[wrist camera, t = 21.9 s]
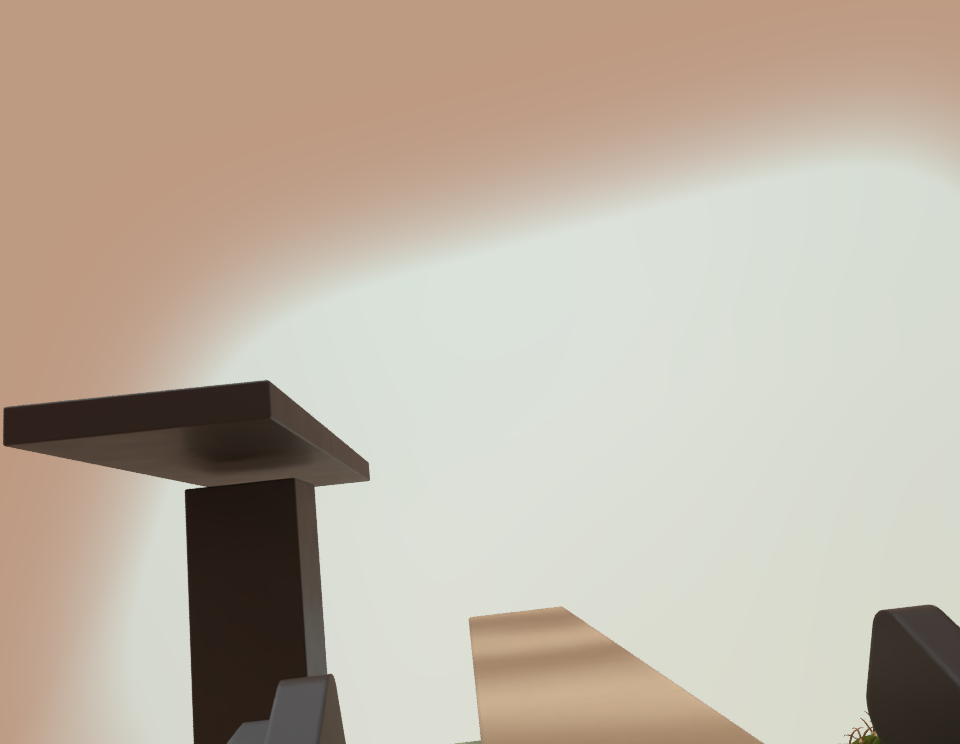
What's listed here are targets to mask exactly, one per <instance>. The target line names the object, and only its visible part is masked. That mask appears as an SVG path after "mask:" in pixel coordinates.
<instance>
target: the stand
mask: <svg viewBox="0 0 960 744" xmlns="http://www.w3.org/2000/svg"><path fill="white" fill-rule="evenodd" d="M3 421H4V422H3V444H4V446H7V447H12V448H17V449H22V450H27V451H32V452H37V453H42V454H47V455H52V456H57V457H62V458H67V459H72V460H77V461H82V462H87V463H92V464H97V465H102V466H106V467H111V468H117V469H122V470H126V471H131V472H136V473H141V474H147V475H151V476H156V477H161V478H166V479H171V480H176V481H181V482H186V483H191V484H196V485H201V486H206V487H204V488H195V489H187V490H185V508H186V535H187V564H188V593H189V621H190V647H191V676H192V705H193V731H194V744H227V743H228V741H229V740H230V739H231V738H232V736H233V735H234V734H235V732H236V731H237V730H238V729H239V727H240V726H241V725H242V723H246V722H255V721H263V720H270V716H271V712H272V708H273V703H274V699H275V695H276V691H277V687H278V684H279V682H280V681H281V680H284V679H293V678H301V677H310V676H318V675H326V674H327V667H326V666H327V665H326V651H325V636H324V622H323V607H322V592H321V579H320V578H321V577H320V563H319V549H318V534H317V519H316V505H315V490H314V487H317V486H326V485H335V484H344V483H354V482H363V481H369V480H370V475H369V463H368V462H367V461H366V460H364V459H363V458H362V457H361V456H360V455H359V454H357V453H356V452H355V451H354V450H353V449H351V448H350V447H349V446H348V445H346V444H345V443H344V442H343V441H342V440H340V439H339V438H338V437H336V436H335V435H334V434H333V433H332V432H331V431H329V430H328V429H327V428H326V427H324V426H323V425H322V424H321V423H320V422H318V421H317V420H316V419H315V418H314V417H312V416H311V415H310V414H309V413H308V412H306V411H305V410H304V409H303V408H301V407H300V406H299V405H298V404H296V403H295V402H294V401H293V400H292V399H291V398H289V397H288V396H287V395H286V394H284V393H283V392H282V391H281V390H280V389H278V388H277V387H276V386H275V385H273V384H272V383H271V382H270V381H268V380H264V381H254V382H244V383H234V384H226V385H215V386H205V387H196V388H186V389H176V390H166V391H157V392H147V393H137V394H128V395H118V396H108V397H98V398H89V399H79V400H69V401H59V402H50V403H40V404H30V405H20V406H11V407H5V408H4V419H3Z"/></svg>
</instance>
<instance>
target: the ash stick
mask: <svg viewBox="0 0 960 744" xmlns="http://www.w3.org/2000/svg"><path fill="white" fill-rule="evenodd" d="M469 626H470V636H471V646H472V656H473V665H474V676H475V685H476V695H477V705H478V715H479V724H480V735H481V744H764V743H762V742H761V741H759V740H758V739H756V738H755V737H754V736H752V735H751V734H749V733H748V732H746V731H745V730H743V729H742V728H740V727H739V726H737V725H736V724H734V723H733V722H731V721H730V720H728V719H727V718H726V717H724V716H723V715H721V714H720V713H718V712H717V711H715V710H714V709H712V708H711V707H709V706H708V705H706V704H705V703H703V702H702V701H700V700H699V699H697V698H696V697H695V696H693V695H692V694H690V693H689V692H687V691H686V690H684V689H683V688H681V687H680V686H678V685H677V684H675V683H674V682H672V681H671V680H669V679H668V678H667V677H665V676H664V675H662V674H661V673H659V672H658V671H656V670H655V669H653V668H652V667H650V666H649V665H647V664H646V663H644V662H643V661H641V660H640V659H639V658H637V657H635V656H634V655H633V654H631V653H630V652H628V651H627V650H625V649H624V648H622V647H621V646H619V645H618V644H616V643H615V642H614V641H612V640H611V639H609V638H608V637H606V636H605V635H603V634H601V633H600V632H599V631H597V630H596V629H594V628H593V627H591V626H590V625H588V624H587V623H585V622H584V621H583V620H581V619H580V618H578V617H576V616H575V615H574V614H572V613H571V612H569V611H568V610H566V609H565V608H563V607H554V608H545V609H537V610H529V611H520V612H511V613H503V614H494V615H486V616H477V617H470V618H469Z"/></svg>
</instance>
